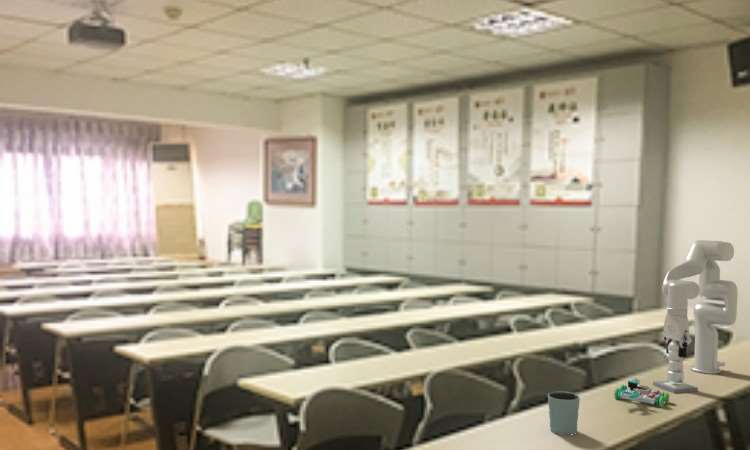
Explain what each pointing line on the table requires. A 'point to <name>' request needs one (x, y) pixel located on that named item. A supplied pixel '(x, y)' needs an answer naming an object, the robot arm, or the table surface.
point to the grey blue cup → (563, 412)
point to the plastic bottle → (675, 363)
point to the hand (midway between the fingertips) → (676, 354)
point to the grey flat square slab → (675, 386)
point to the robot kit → (641, 393)
